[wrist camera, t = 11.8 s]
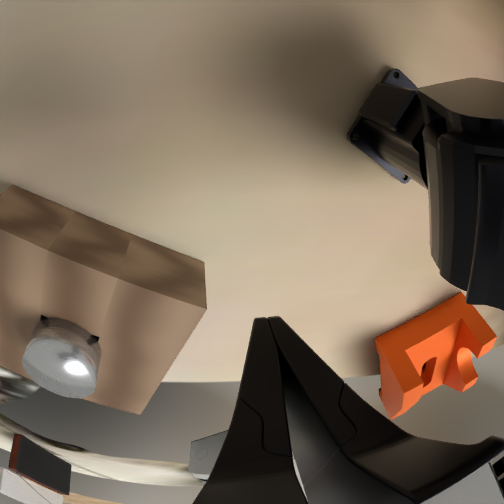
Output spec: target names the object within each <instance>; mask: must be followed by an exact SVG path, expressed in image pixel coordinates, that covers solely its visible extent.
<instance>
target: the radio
mask: <svg viewBox="0 0 504 504" xmlns="http://www.w3.org/2000/svg"><path fill="white" fill-rule="evenodd" d="M9 469H11V470H13V471H15V472H16V473H17V474H18V475H19V474H20V475H22V476H24V477H26V478H28V479H30V480H32V481H34V482H36V483H38V484H40V485H42V486H44V487H46V488H48V489H51V490H53V491H55V492H57V493H60V494H65V495H69V490H70V476H71V464H69V463H67V462H65V461H63V460H62V459H60V458H58V457H56V456H55V455H53V454H51V453H50V452H48V451H46V450H45V449H43V448H42V447H40V446H38V445H37V444H35V443H34V442H32V441H31V440H29V439H28V438H26V437H25V436H23V435H17V434H15V435H14V439H13V444H12V449H11V455H10V460H9ZM20 475H19V476H20ZM20 477H21V476H20ZM21 478H22V477H21ZM22 479H23V478H22ZM23 480H24V479H23ZM24 481H25V480H24ZM25 482H26V481H25ZM26 483H27V484H28V485H29V486H30V487H31V488H32V489H34V488H33V487H32V486H31V485H30V484H29V483H28V482H26ZM34 490H35V489H34ZM35 491H36V490H35ZM36 492H37V491H36ZM37 493H38V492H37ZM38 494H39V493H38ZM39 495H41V494H39ZM41 496H42V495H41ZM42 497H43V496H42ZM43 498H44V497H43ZM44 499H45V498H44ZM45 500H46V499H45ZM46 501H48V500H46ZM48 502H49V501H48ZM49 503H50V502H49ZM50 504H51V503H50Z"/></svg>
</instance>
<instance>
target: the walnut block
mask: <svg viewBox="0 0 504 504" xmlns="http://www.w3.org/2000/svg"><path fill="white" fill-rule="evenodd" d="M206 310H207V304H206V287H205V267H204V262H202V261H199V260H196V259H194V258H191V257H189V256H186V255H183V254H181V253H178V252H175V251H173V250H170V249H168V248H165V247H163V246H160V245H157V244H155V243H152V242H150V241H147V240H145V239H142V238H140V237H137V236H135V235H132V234H130V233H127V232H125V231H122V230H120V229H117V228H115V227H112V226H110V225H107V224H105V223H102V222H100V221H97V220H95V219H92V218H90V217H87V216H85V215H83V214H80V213H78V212H75V211H73V210H71V209H68V208H66V207H63V206H61V205H59V204H56V203H54V202H51V201H49V200H47V199H44V198H42V197H40V196H37V195H35V194H33V193H30V192H28V191H26V190H23V189H21V188H19V187H16V186H14V185H12V186H10V187H9V188H8V189H7V190H6V191H4V192H3V193H2V194H1V195H0V366H2V367H4V368H7V369H9V370H11V371H13V372H15V373H17V374H20V375H22V376H24V377H26V378H29V379H31V380H33V379H32V378H31V377H30V376H29V375H28V374H27V373H26V371H25V369H24V367H23V364H22V358H23V355H24V353H25V350H26V347H27V345H28V342H29V340H30V337H31V335H32V333H33V330H34V328H35V325H36V324H37V323H38V322H39V321H40V320H42V319H44V318H50V317H55V318H62V319H66V320H69V321H71V322H74V323H76V324H78V325H80V326H81V327H83V328H84V329H86V330H87V331H88V332H89V333H91V334H92V335H93V336H94V337H95V339H96V340H97V341H98V343H99V345H100V347H101V351H102V355H101V360H100V365H99V370H98V375H97V380H96V386H95V390H94V392H93V394H91V395H90V396H88V397H84V398H83V399H85V400H88V401H92V402H95V403H98V404H101V405H105V406H108V407H112V408H116V409H119V410H123V411H127V412H131V413H135V414H139V415H140V414H141V413H142V411H143V410H144V408H145V407H146V405H147V403H148V402H149V400H150V398H151V397H152V395H153V394H154V392H155V391H156V389H157V387H158V386H159V384H160V382H161V381H162V379H163V378H164V376H165V375H166V373H167V371H168V370H169V368H170V367H171V365H172V364H173V362H174V360H175V359H176V357H177V356H178V354H179V352H180V351H181V349H182V348H183V346H184V345H185V343H186V341H187V340H188V338H189V337H190V335H191V333H192V332H193V330H194V329H195V327H196V326H197V324H198V322H199V321H200V319H201V318H202V316H203V315H204V313H205V311H206Z"/></svg>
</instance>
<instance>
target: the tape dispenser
mask: <svg viewBox="0 0 504 504" xmlns="http://www.w3.org/2000/svg"><path fill="white" fill-rule="evenodd" d="M465 300H466V297H465V296H464V295H463V293H462V292H460V293H459V294H457V295H455V296H453V297H452V298H450V299H448V300H447V301H445V302H443V303H441V304H440V305H438V306H436V307H434V308H433V309H431V310H429V311H427V312H425V313H424V314H422V315H420V316H418V317H416V318H414V319H412V320H410V321H408V322H407V323H405V324H403V325H401V326H399V327H397V328H395V329H393V330H391V331H389V332H387V333H385V334H382V335H380V336H378V337H376V338H375V343H376V351H377V352H378V354H379V360H380V374H381V388H379V396H380V398H381V401H382V403H383V405H384V407H385V409H386V411H387V414H388V416H389V419H390V420H391V419H393V418H395V417H397V416H399V415H401V414H403V413H404V412H406V411H407V410H408V409H409V408H410V407H412V406H413V405H414V404H415V403H416V402H418V401H419V400H420V397H421V396H422V395H424V394H426V393H427V392H429V391H431V390H433V389H434V388H436V387H438V386H440V385H441V384H445V385H447V386H449V387H451V388H453V389H455V390H458V391H460V392H463V391H465V390H467V389H468V388H469V387H471V386H472V385H474V384H475V382H476V380H477V378H478V375H477V373H476V371H475V369H474V366H473V363H472V360H471V354H470V351H471V352H473V354H474V355H475V356H476V357H477V358H479V357H481V356H482V355H484V354H485V353H486V352H488V351H489V350H491V349H492V347H493V344H494V342H495V340H496V337H497V336H496V334H495V333H494V332H493V330H492V329H491V328H490V327H489V325H488V324H487V323H486V321H485V320H484V319H483V318H482V316H481V315H480V314H479V313H478V311H477V310H476V309H475V308H474V307H473V305H472V304H467V303H466V302H465ZM425 362H426V366H425V368H423V369H422V366H423V365H424V363H425Z"/></svg>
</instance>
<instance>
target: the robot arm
mask: <svg viewBox="0 0 504 504" xmlns="http://www.w3.org/2000/svg"><path fill="white" fill-rule="evenodd" d="M394 73H396V78H394V75H393V74H394ZM354 134H357V137H356V139H354V140H353V135H354ZM347 139H348V141H349V142H350V143H352V144H353V145H354V146H356V147H357V148H358V149H360V150H361V151H362V152H364V153H365V154H366V155H368V156H369V157H370V158H372V159H373V160H374V161H375V162H377V163H378V164H379V165H381V166H382V167H383V168H384V169H386V170H387V171H388V172H389V173H391V174H392V175H393V176H394V177H395V178H397V179H398V180H399V181H400V182H402V183H408V182H409V180H410V179H413V180H414V181H416V182H417V183H419V184H420V185H422V186H423V187H425V188H426V189H427V190H428V194H429V215H430V248H431V256H432V257H433V259H434V261H435V263H436V265H437V266H438V268H439V269H440V275H441V276H442V277H443V278H444V279H446V280H447V281H448V282H449V283H451V284H452V285H454V286H456V287H458V288H460V289H462V290H464V291H467V295H466V300H465V302H466V303H467V304H473V305H488V306H492V307H495V308H499V309H501V310H503V311H504V83H503V82H499V81H493V80H487V79H480V78H466V79H461V80H455V81H450V82H445V83H440V84H435V85H430V86H426V87H421V88H417V87H416V86H415V85H414V84H413V83H412V82H411V81H410V80H409V79H408V78H407V77H406V76H405V75H404V74H403V73H402V72H401V71H400V70H399V69H395V68H391V69H389V70H388V72H387V73H386V75H385V76H384V78H383V80H382V81H381V83H380V84H377V85H376V86H375V88H374V89H373V91H372V93H371V94H370V96H369V97H368V99H367V100H366V102H365V103H364V105H363V106H362V108H361V109H360V115H359V116H358V118H357V119H356V121H355V122H354V124H353V125H352V127H351V128H350V130H349V132H348V133H347ZM404 175H405V177H404V178H403V176H404ZM503 451H504V438H502V437H498V436H495V435H491V436H489V437H488V438H486V439H485V440H483V441H482V442H480V443H477V444H472V445H464V444H456V443H449V442H443V441H437V440H431V439H425V438H421V437H417V436H413V435H411V434H409V433H407V432H405V431H404V430H402V429H401V428H399V427H398V426H397V425H395V424H394V423H393V422H391V421H390V420H389V419H387V418H386V417H385V416H383V415H382V414H381V413H379V412H378V411H377V410H375V409H374V408H373V407H372V406H370V405H369V404H368V403H367V402H366V401H364V400H363V399H362V398H361V397H360V396H359V395H358V394H357V393H356V392H355V391H353V390H352V389H351V388H350V387H349V386H348V385H347V384H346V383H345V384H344V381H343V380H342V379H341V378H340V377H339V376H338V375H337V374H336V373H335V372H334V371H333V370H332V369H331V368H330V367H329V366H328V365H327V364H326V363H325V362H324V361H323V360H322V359H321V358H320V357H319V356H318V355H317V354H316V353H315V352H314V351H313V350H312V349H311V348H310V347H309V346H308V345H307V344H306V343H305V342H304V341H303V340H302V339H301V338H300V337H299V336H298V335H297V334H296V333H295V332H294V330H293V329H292V328H291V327H290V326H289V325H288V324H287V323H286V322H285V321H284V320H283V319H282V318H281V317H279V316H274V317H268V318H266V317H260V318H255V319H254V322H253V327H252V331H251V336H250V341H249V346H248V350H247V355H246V360H245V365H244V369H243V374H242V379H241V384H240V388H239V392H238V398H237V401H236V406H235V410H234V414H233V417H232V421H231V424H230V427H229V430H228V433H227V435H226V438H225V440H224V443H223V445H222V448H221V450H220V452H219V455H218V457H217V459H216V462H215V464H214V467H213V469H212V471H211V473H210V475H209V477H208V479H207V481H206V483H205V485H204V487H203V488H202V490H201V491H200V493H199V494H198V496H197V497H196V499H195V501H194V502H193V504H308V503H309V504H504V456H503V457H501V458H500V459H499V460H497V461H496V462H494V463H493V464H491V462H490V461H491V460H492V459H493V458H495V457H496V456H497V455H499V454H500V453H501V452H503ZM292 452H293V454H294V458H295V461H296V465H297V468H298V471H299V474H300V478H301V481H302V484H303V487H304V491H305V494H306V497H307V499H306V497H305V494H304V492H303V490H302V487H301V485H300V482H299V480H298V478H297V475H296V472H295V468H294V462H293V458H292V457H293V456H292ZM307 500H308V501H307Z"/></svg>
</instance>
